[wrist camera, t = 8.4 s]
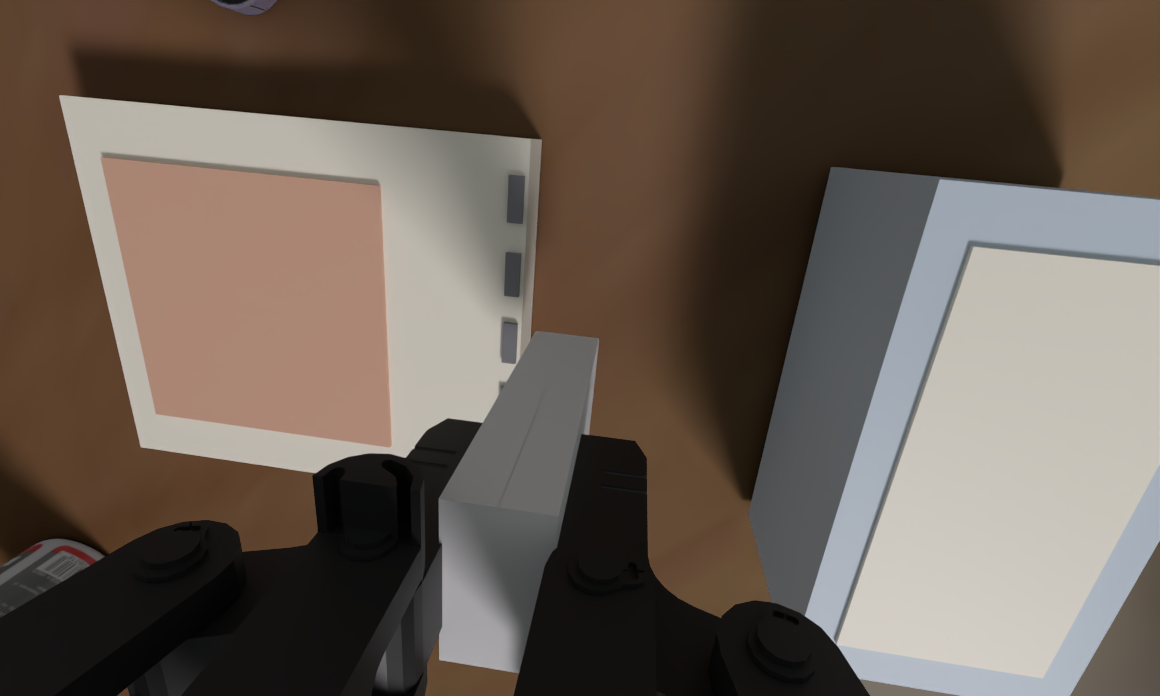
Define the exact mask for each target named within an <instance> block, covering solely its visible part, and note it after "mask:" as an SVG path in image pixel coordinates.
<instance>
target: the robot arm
mask: <svg viewBox="0 0 1160 696" xmlns="http://www.w3.org/2000/svg"><path fill="white" fill-rule="evenodd" d="M598 345H599V338H591V337H583V336H575V335H566V334H558V333H550V332H541V331H536V332H535V334H534V335H533V337H532V339H531V341H530V342H529V344H528V346H527V347H526V349H525V351H524V353H523V354H522V356H521V358H520V359H519V361H518V363H517V365H516V366H515V368H514V370H513V372H512V373H511V375H510V377H509V378H508V380H507V382H506V384H505V385H504V387H503V389H502V391H501V392H500V394H499V396H498V397H497V399H496V401H495V403H494V404H493V406H492V408H491V409H490V411H489V413H488V415H487V416H486V418H485V420H484V422H483V423H480V422H473V421H465V420H458V419H450V418H447V419H446V420H444V421H442V422H440V423H438V424H437V425H435V426H433V427H431V428H430V429H428V430H427V431H426V432H425V433H424V435H423V436H422V437H421V438H420V440H419V441H418V442H417V444H416V445H415V448H414V449H412V450H411V452H410V453H409V454H408V456H407V457H406V458H404V457H400V456H396V455H393V454H377V453H368V454H362V455H357V456H351V457H347V458H344V459H341V460H339V461H336V462H334V463H331V464H328V465H327V466H325V467H324V468H323V469H321V470H320V471H318V472H317V473H316V474H314V475H313V486H314V496H315V506H316V515H317V525H318V533H317V534H316V535H315V536H314V538H313V539H312V540H311V541H310V542H309V544H308V545H304V546H298V547H292V548H282V549H270V550H259V551H248V552H242V548H241V543H240V538H239V534H238V532H237V531H236V530H235V529H233V528H232V527H230V526H229V525H228V524H226V523H221V522H215V521H210V520H202V521H189V522H182V523H178V524H174V525H170V526H167V527H163V528H159V529H157V530H154V531H152V532H150V533H148V534H146V535H144V536H142V537H139V538H137V539H135V540H133V541H131V542H129V543H128V544H126V545H124V546H123V547H121V548H119V549H117V550H116V551H114V552H112V553H111V554H109V555H107V556H105V557H104V558H102V559H100V560H98V561H97V562H95V563H93V564H92V565H90V566H88V567H86V568H85V569H83V570H81V571H80V572H78V573H76V574H74V575H73V576H71V577H69V578H68V579H66V580H64V581H62V582H61V583H59V584H57V585H55V586H54V587H52V588H50V589H49V590H47V591H45V592H43V593H42V594H40V595H38V596H37V597H35V598H33V599H31V600H30V601H28V602H26V603H25V604H23V605H21V606H19V607H18V608H16V609H14V610H12V611H11V612H9V613H7V614H6V615H4V616H2V617H0V696H117V695H118V694H119V693H121V692H122V691H123V690H124V689H126V688H128V691H129V694H130V696H425V691H426V686H427V662H428V660H429V657H430V655H431V652H432V650H433V648H434V645H435V643H436V640H437V638H438V636H439V660H443V661H449V662H455V663H461V664H467V665H473V666H479V667H485V668H491V669H497V670H503V671H509V672H515V673H519V676H518V680H517V684H516V688H515V693H514V696H870V695H869V694H868V692H867V691H866V689H865V687H864V686H863V684H862V683H861V681H860V680H859V678H858V677H857V675H856V674H855V672H854V671H853V669H852V667H851V666H850V664H849V663H848V661H847V660H846V658H845V657H844V655H843V654H842V652H841V651H840V649H839V647H838V646H837V645H836V644H835V643H834V642H833V641H832V639H831V638H830V637H829V636H828V635H827V634H826V632H825V631H824V630H823V629H822V628H821V627H820V626H818V625H817V624H815V623H814V622H813V621H811V620H810V619H808V618H807V617H805V616H804V615H803V614H801V613H800V612H797V611H795V610H792V609H790V608H787V607H785V606H782V605H780V604H777V603H770V602H762V601H750V602H745V603H741V604H736V605H734V606H733V607H732V608H731V609H730V610H728V611H727V612H726V613H725V614H724V615H722V618H719V617H717V616H714V615H712V614H710V613H707V612H705V611H703V610H700V609H698V608H696V607H693V606H692V605H690V604H688V603H686V602H684V601H682V600H680V599H678V598H677V597H676V596H675V595H673V594H672V593H671V592H669V591H668V590H667V589H666V588H665V587H664V586H663V585H662V584H661V583H660V582H659V580H658V579H657V578H656V577H655V575H654V573H653V571H652V569H651V567H650V564H649V559H648V541H647V479H646V478H647V458H646V456H645V455H644V453H643V452H642V450H641V449H640V448H639V446H638V445H637V443H636V442H635V441H630V440H623V439H615V438H608V437H600V436H593V435H589V428H590V419H591V410H592V401H593V391H594V382H595V373H596V363H597V354H598Z"/></svg>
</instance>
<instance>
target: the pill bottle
mask: <svg viewBox="0 0 1160 696" xmlns="http://www.w3.org/2000/svg"><path fill="white" fill-rule="evenodd" d="M104 557H105V556H104V555H103V554H101V553H100V552H98V551H97V550H95V549H93V548H91V547H89V546H86V545H84V544H81V543H78V542H75V541H71V540H66V539H49V540H44V541H42V542H39V543H37V544H35V545H33V546H31V547H30V548H28V549H27V550H25V551H24V552H22V553H20V554H19V555H17V556H16V557H14V558H13V559H11V560H10V561H8V562H7V563H5V564H3V565H2V566H0V617H2V616H4V615H6V614H7V613H9V612H11V611H12V610H14V609H16V608H18V607H19V606H21V605H23V604H25V603H26V602H28V601H30V600H31V599H33V598H35V597H37V596H38V595H40V594H42V593H43V592H45V591H47V590H49V589H50V588H52V587H54V586H55V585H57V584H59V583H61V582H62V581H64V580H66V579H68V578H69V577H71V576H73V575H74V574H76V573H78V572H80V571H81V570H83V569H85V568H86V567H88V566H90V565H92V564H93V563H95V562H97V561H98V560H100V559H102V558H104Z"/></svg>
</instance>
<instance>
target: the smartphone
mask: <svg viewBox="0 0 1160 696" xmlns="http://www.w3.org/2000/svg"><path fill="white" fill-rule="evenodd" d="M211 1H213V2H215V3H216V4H218V5H220V6H222V7H225V8H228V9H230V10H233V11H236V12H239V13H242V14H245V15H258V14H261V13H263V12H265V11H267V10H268V9H269V8H271V7H272V6H273V5H274V3H275V2H276V1H277V0H211Z"/></svg>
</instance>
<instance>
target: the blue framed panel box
mask: <svg viewBox="0 0 1160 696" xmlns="http://www.w3.org/2000/svg"><path fill="white" fill-rule="evenodd" d="M748 515H749V519H750V523H751V526H752V530H753V534H754V538H755V541H756V545H757V549H758V553H759V556H760V560H761V564H762V568H763V571H764V575H765V579H766V582H767V586H768V590H769V594H770V597H771V601H772V603H777V604H780V605H782V606H785V607H787V608H790V609H792V610H795V611H797V612H800V613H801V614H803V615H804V616H805V617H807V618H808V619H810V620H811V621H813V622H814V623H815V624H817V625H818V626H820V627H821V628H822V629H823V630H824V631H825V632H826V634H827V635H828V636H829V637H830V638H831V639H832V641H833V642H834V643H835V644H836V645H837V646H838V647H839V649H840V651H841V652H842V654H843V655H844V657H845V658H846V660H847V661H848V663H849V664H850V666H851V667H852V669H853V671H854V672H855V674H856V675H857V677H858V678H859V679H865V680H870V681H876V682H882V683H888V684H894V685H900V686H906V687H912V688H919V689H924V690H930V691H936V692H942V693H948V694H955V695H960V696H1070V695H1071V693H1072V691H1073V689H1074V687H1075V686H1076V684H1077V682H1078V681H1079V679H1080V677H1081V675H1082V674H1083V672H1084V670H1085V669H1086V667H1087V665H1088V663H1089V662H1090V660H1091V658H1092V656H1093V655H1094V653H1095V651H1096V650H1097V648H1098V646H1099V644H1100V643H1101V641H1102V639H1103V638H1104V636H1105V634H1106V632H1107V631H1108V629H1109V627H1110V625H1111V624H1112V622H1113V620H1114V619H1115V617H1116V615H1117V613H1118V612H1119V610H1120V608H1121V606H1122V605H1123V603H1124V601H1125V600H1126V598H1127V596H1128V594H1129V593H1130V591H1131V589H1132V587H1133V586H1134V584H1135V582H1136V581H1137V579H1138V577H1139V575H1140V573H1141V572H1142V570H1143V568H1144V566H1145V565H1146V563H1147V561H1148V560H1149V558H1150V556H1151V554H1152V553H1153V551H1154V549H1155V548H1156V546H1157V544H1158V542H1159V541H1160V198H1154V197H1144V196H1135V195H1125V194H1115V193H1105V192H1096V191H1086V190H1076V189H1065V188H1055V187H1044V186H1033V185H1022V184H1012V183H1001V182H990V181H979V180H969V179H958V178H947V177H936V176H926V175H915V174H904V173H893V172H883V171H872V170H861V169H850V168H840V167H831V170H830V174H829V178H828V182H827V186H826V191H825V195H824V199H823V203H822V207H821V211H820V216H819V220H818V224H817V228H816V232H815V237H814V241H813V245H812V249H811V253H810V258H809V262H808V266H807V270H806V274H805V278H804V283H803V287H802V291H801V295H800V299H799V304H798V308H797V312H796V316H795V320H794V325H793V329H792V333H791V337H790V341H789V345H788V350H787V354H786V358H785V362H784V366H783V371H782V375H781V379H780V383H779V387H778V392H777V396H776V400H775V404H774V408H773V412H772V417H771V421H770V425H769V429H768V433H767V438H766V442H765V446H764V450H763V454H762V459H761V463H760V467H759V471H758V475H757V479H756V484H755V488H754V492H753V496H752V500H751V505H750V509H749V513H748Z"/></svg>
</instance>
